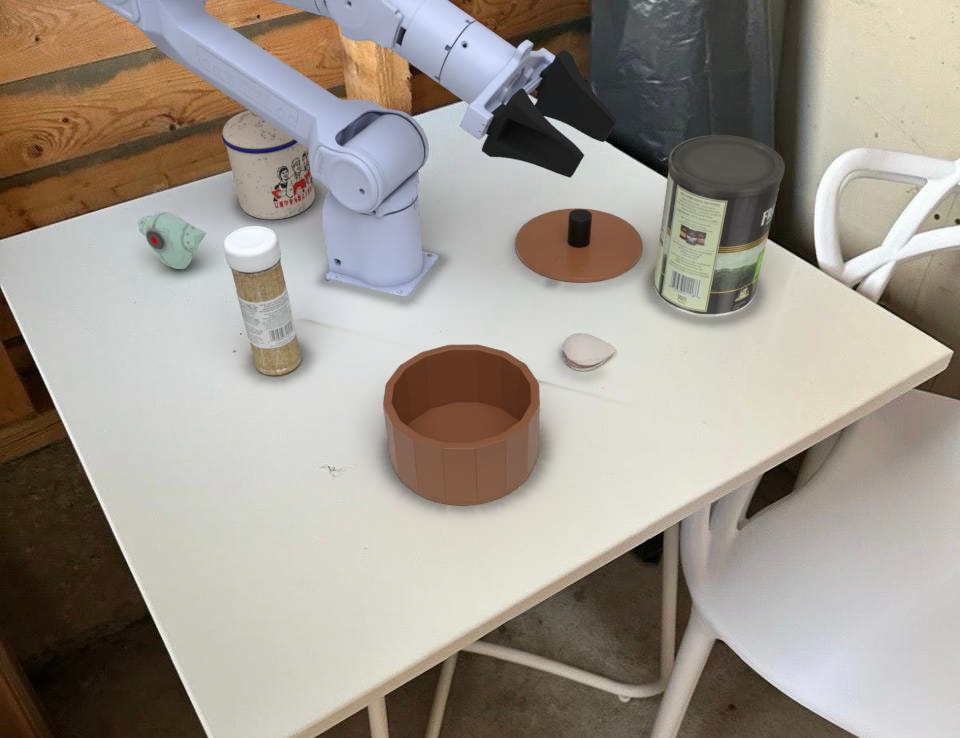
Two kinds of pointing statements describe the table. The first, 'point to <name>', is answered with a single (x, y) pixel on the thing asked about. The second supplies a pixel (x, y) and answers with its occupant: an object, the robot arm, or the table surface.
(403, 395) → the tin
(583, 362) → the white teardrop
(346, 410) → the table surface
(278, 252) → the spice jar
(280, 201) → the teacup with lid
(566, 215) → the lid
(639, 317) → the table surface
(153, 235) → the robot head
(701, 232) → the coffee can
